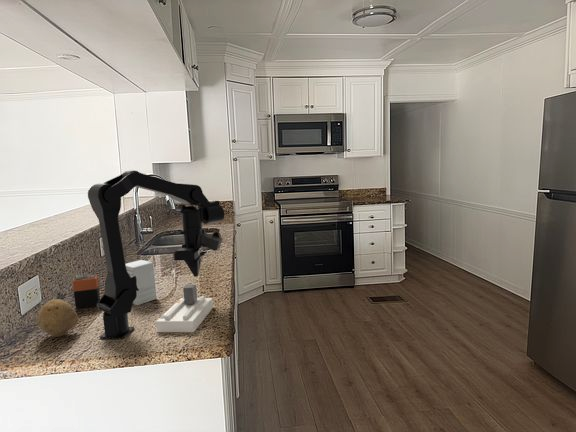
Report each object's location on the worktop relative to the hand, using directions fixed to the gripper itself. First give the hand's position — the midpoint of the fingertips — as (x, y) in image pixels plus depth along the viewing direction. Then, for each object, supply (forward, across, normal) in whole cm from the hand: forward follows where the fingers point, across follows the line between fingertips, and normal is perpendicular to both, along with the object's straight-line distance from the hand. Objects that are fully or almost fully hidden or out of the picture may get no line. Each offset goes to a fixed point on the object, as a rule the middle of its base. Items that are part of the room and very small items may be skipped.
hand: (196, 276), depth 125 cm
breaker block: (+10, -10, 0) cm, 14 cm away
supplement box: (+10, +6, +22) cm, 24 cm away
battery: (+10, +2, +37) cm, 39 cm away
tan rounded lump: (+10, -21, +31) cm, 39 cm away
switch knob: (+6, -6, 0) cm, 9 cm away
